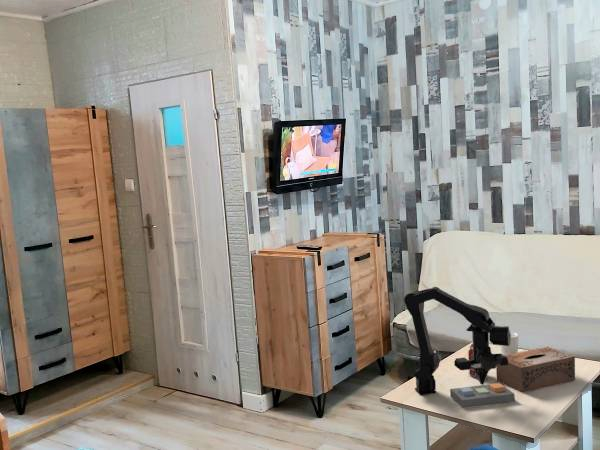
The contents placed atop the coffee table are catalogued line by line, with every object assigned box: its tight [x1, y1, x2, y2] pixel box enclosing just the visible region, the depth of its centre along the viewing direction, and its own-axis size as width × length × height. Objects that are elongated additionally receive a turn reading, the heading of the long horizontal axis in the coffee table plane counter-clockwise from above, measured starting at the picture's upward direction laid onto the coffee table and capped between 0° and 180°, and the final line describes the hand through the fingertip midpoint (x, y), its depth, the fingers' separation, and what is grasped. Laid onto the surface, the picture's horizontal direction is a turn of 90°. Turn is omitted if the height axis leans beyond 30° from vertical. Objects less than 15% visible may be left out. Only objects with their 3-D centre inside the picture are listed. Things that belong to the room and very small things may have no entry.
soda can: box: [467, 345, 478, 379], centre depth 247 cm, size 7×7×12 cm
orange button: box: [488, 382, 506, 392], centre depth 224 cm, size 4×4×3 cm
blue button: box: [458, 386, 474, 396], centre depth 222 cm, size 4×4×3 cm
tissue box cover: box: [495, 346, 576, 393], centre depth 238 cm, size 26×14×10 cm, turn 110°
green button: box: [474, 388, 489, 394], centre depth 223 cm, size 4×4×3 cm
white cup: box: [499, 332, 519, 355], centre depth 267 cm, size 8×8×10 cm
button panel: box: [449, 382, 516, 409], centre depth 223 cm, size 20×11×3 cm, turn 99°
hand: (481, 384), depth 223 cm, fingers closed
